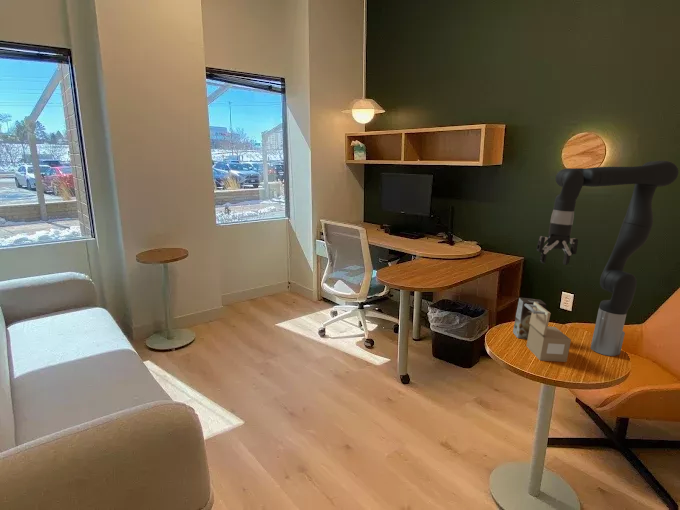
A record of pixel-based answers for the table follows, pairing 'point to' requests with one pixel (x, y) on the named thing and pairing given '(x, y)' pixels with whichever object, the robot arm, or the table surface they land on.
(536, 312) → the flap
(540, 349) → the carton
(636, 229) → the robot arm
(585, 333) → the table surface
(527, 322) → the coffee box
